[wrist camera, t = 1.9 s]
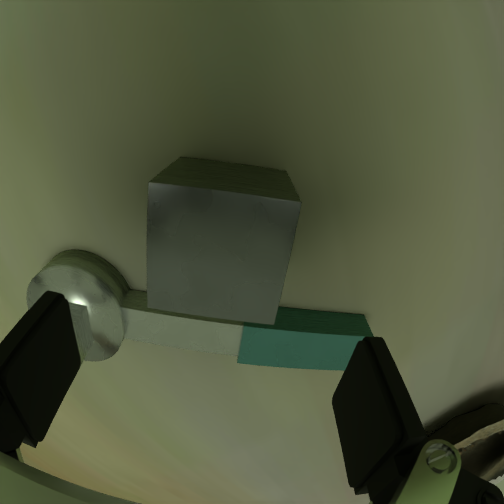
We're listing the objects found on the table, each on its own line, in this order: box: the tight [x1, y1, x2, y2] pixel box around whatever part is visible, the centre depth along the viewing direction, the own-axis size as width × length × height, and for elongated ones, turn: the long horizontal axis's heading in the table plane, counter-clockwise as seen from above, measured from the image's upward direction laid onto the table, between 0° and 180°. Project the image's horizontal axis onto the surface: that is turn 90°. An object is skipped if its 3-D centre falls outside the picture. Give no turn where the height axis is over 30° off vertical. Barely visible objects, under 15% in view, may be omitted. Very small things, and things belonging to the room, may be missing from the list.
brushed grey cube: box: [147, 157, 302, 325], centre depth 17 cm, size 6×6×6 cm
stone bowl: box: [428, 404, 504, 481], centre depth 30 cm, size 25×25×9 cm
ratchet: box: [27, 250, 374, 384], centre depth 19 cm, size 8×25×7 cm, turn 81°
